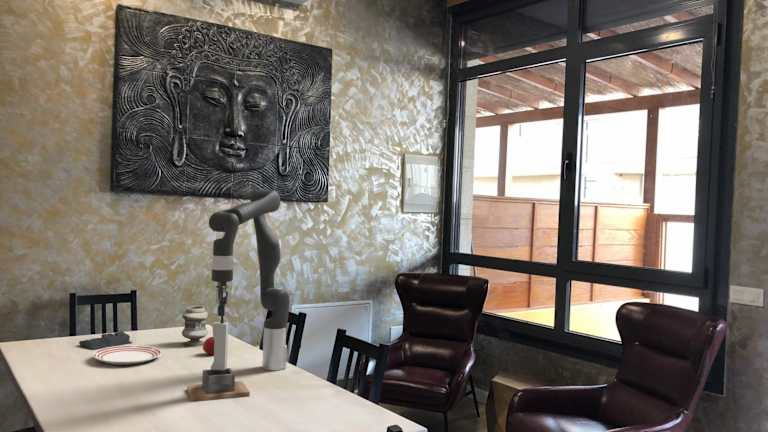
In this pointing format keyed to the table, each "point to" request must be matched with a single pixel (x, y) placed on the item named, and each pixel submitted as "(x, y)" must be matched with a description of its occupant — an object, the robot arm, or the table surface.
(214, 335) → the vintage mobile phone
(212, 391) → the phone dock
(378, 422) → the table surface
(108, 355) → the dinner plate
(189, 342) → the apothecary jar
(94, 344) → the dark slate chunk
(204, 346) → the apple
